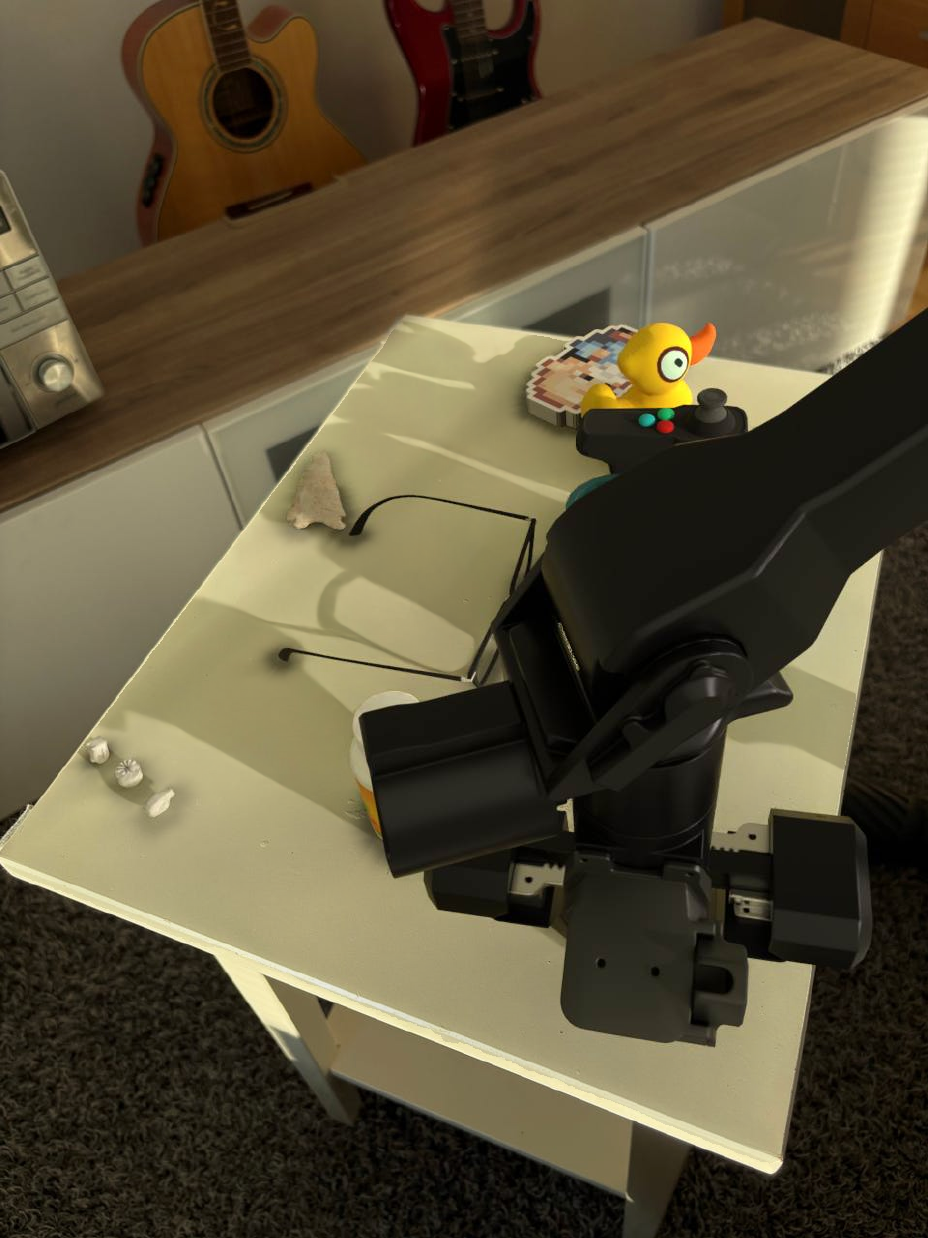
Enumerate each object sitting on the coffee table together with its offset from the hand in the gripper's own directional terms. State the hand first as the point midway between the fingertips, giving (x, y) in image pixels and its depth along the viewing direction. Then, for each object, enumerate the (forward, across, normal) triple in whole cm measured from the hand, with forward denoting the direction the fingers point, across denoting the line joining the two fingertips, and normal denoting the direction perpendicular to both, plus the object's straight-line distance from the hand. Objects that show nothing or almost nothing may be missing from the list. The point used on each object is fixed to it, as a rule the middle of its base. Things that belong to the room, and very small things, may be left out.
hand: (637, 942), depth 49 cm
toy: (+2, -12, +55) cm, 57 cm away
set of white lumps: (+1, -33, +7) cm, 34 cm away
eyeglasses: (+3, -18, +24) cm, 30 cm away
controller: (+3, -2, +37) cm, 37 cm away
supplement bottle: (+3, -14, +7) cm, 16 cm away
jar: (+3, -4, +30) cm, 30 cm away
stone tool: (+2, -28, +31) cm, 41 cm away
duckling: (+3, -3, +45) cm, 45 cm away
